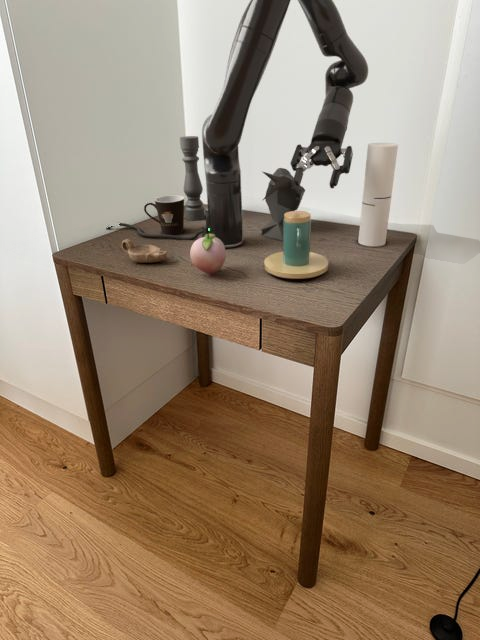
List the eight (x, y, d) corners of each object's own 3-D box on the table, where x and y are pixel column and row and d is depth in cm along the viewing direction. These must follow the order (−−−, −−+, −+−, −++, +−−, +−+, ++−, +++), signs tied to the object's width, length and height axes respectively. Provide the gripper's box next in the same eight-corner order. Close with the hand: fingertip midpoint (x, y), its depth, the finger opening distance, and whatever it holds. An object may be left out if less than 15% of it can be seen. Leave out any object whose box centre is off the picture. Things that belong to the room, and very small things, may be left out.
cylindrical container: (386, 247, 121) (399, 146, 109) (358, 245, 122) (368, 146, 110) (384, 238, 127) (396, 142, 115) (358, 237, 128) (367, 142, 117)
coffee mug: (192, 229, 140) (190, 197, 135) (174, 237, 133) (171, 203, 129) (163, 225, 145) (160, 193, 141) (145, 232, 139) (140, 199, 134)
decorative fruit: (192, 267, 112) (188, 228, 107) (225, 265, 113) (223, 226, 108) (191, 283, 104) (187, 240, 99) (227, 280, 104) (225, 238, 100)
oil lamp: (173, 259, 118) (171, 240, 115) (155, 269, 112) (153, 250, 110) (134, 252, 123) (131, 234, 121) (115, 261, 118) (112, 242, 115)
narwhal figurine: (316, 228, 137) (319, 165, 129) (283, 240, 128) (284, 174, 119) (279, 219, 146) (280, 161, 138) (246, 231, 137) (245, 168, 128)
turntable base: (260, 272, 108) (260, 268, 108) (289, 258, 116) (290, 254, 116) (302, 284, 101) (302, 280, 101) (331, 268, 109) (331, 264, 108)
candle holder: (186, 215, 154) (179, 136, 142) (204, 214, 155) (199, 135, 143) (185, 221, 149) (178, 139, 137) (204, 219, 149) (199, 138, 137)
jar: (263, 255, 115) (262, 206, 109) (323, 254, 114) (326, 204, 108) (265, 279, 102) (264, 224, 96) (332, 278, 101) (336, 223, 95)
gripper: (299, 117, 112) (282, 174, 109) (357, 117, 106) (341, 177, 103) (306, 137, 119) (289, 192, 115) (361, 138, 113) (345, 196, 110)
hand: (314, 185), depth 109 cm, fingers open, 8 cm apart
